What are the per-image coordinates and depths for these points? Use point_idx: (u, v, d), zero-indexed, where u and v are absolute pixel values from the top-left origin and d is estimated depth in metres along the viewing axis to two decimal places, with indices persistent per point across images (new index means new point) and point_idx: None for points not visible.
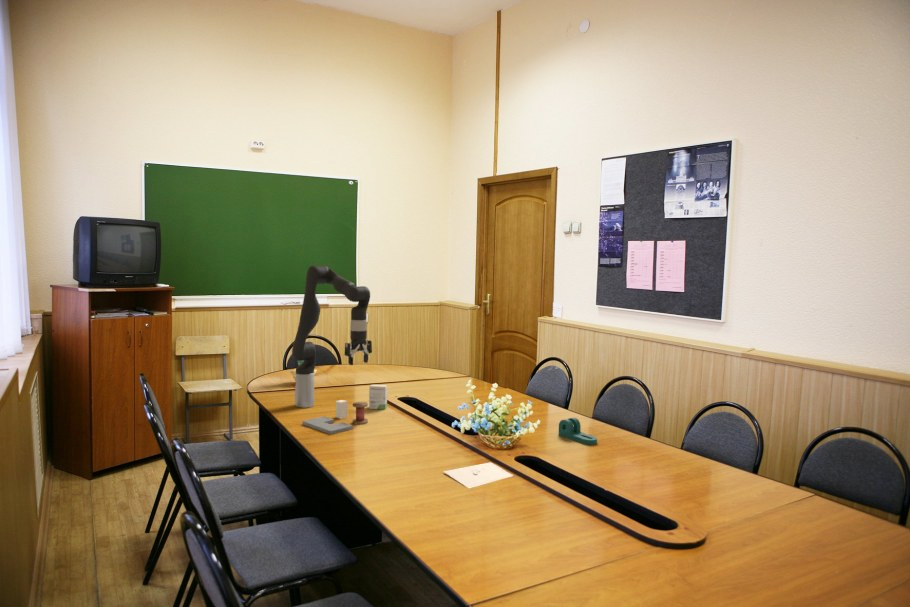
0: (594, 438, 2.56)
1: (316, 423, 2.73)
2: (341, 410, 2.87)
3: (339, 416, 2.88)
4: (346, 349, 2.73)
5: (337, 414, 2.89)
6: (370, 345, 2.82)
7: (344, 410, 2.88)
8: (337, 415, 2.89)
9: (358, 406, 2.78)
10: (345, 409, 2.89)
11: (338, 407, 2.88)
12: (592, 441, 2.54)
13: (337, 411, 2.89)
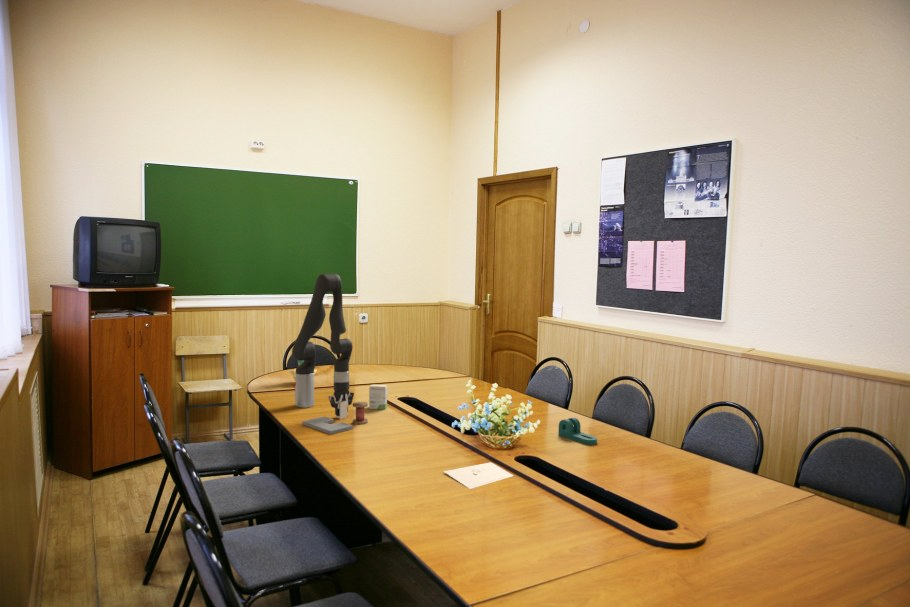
0: (594, 438, 2.56)
1: (316, 423, 2.73)
2: (341, 410, 2.87)
3: (339, 416, 2.88)
4: (331, 402, 2.85)
5: None
6: (351, 397, 2.92)
7: (344, 410, 2.88)
8: None
9: (358, 406, 2.78)
10: (345, 409, 2.89)
11: None
12: (592, 441, 2.54)
13: None
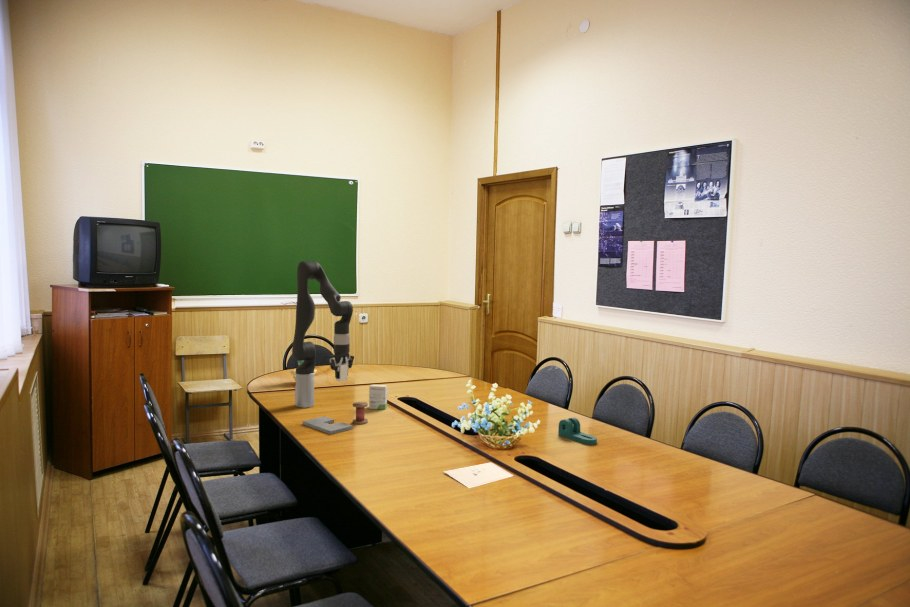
0: (594, 438, 2.56)
1: (316, 423, 2.73)
2: (341, 373, 2.86)
3: (339, 379, 2.86)
4: (331, 365, 2.83)
5: None
6: (352, 360, 2.91)
7: (344, 373, 2.87)
8: None
9: (358, 406, 2.78)
10: (345, 372, 2.87)
11: None
12: (592, 441, 2.54)
13: None
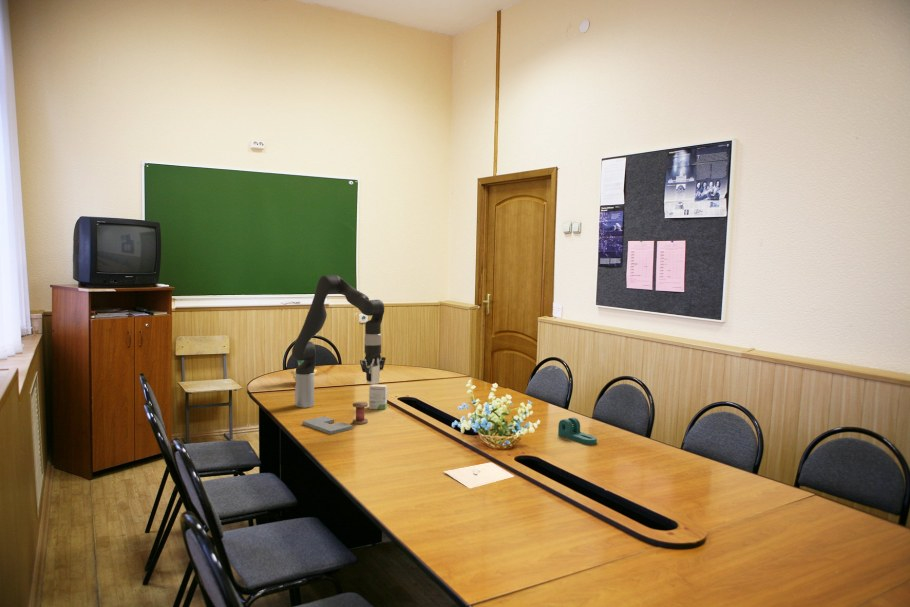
0: (594, 438, 2.56)
1: (316, 423, 2.73)
2: (373, 375, 2.72)
3: (371, 381, 2.72)
4: (362, 366, 2.69)
5: None
6: (383, 362, 2.77)
7: (376, 375, 2.73)
8: None
9: (358, 406, 2.78)
10: (377, 374, 2.73)
11: None
12: (592, 441, 2.54)
13: None
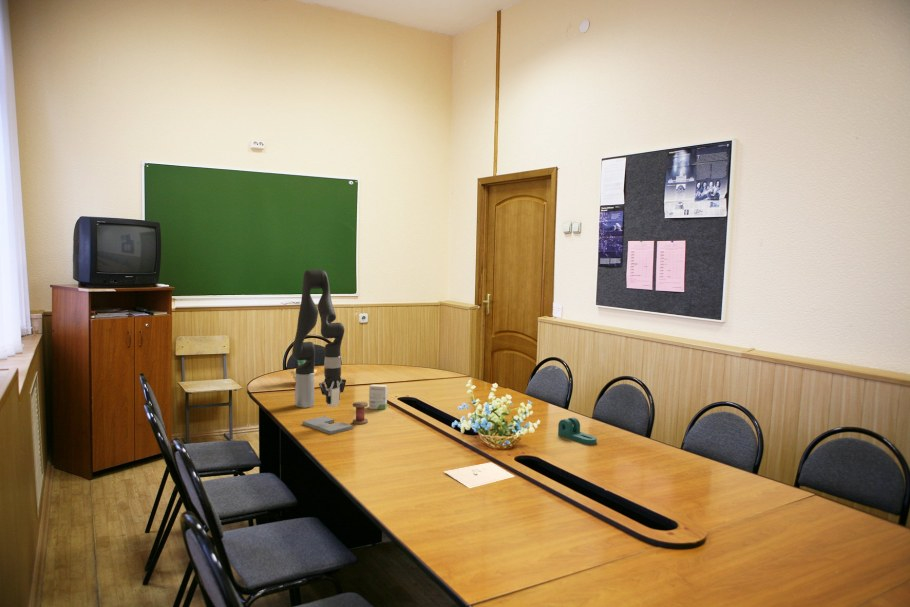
0: (594, 438, 2.56)
1: (316, 423, 2.73)
2: (332, 397, 2.73)
3: (330, 404, 2.73)
4: (322, 389, 2.71)
5: None
6: (343, 384, 2.78)
7: (335, 397, 2.74)
8: None
9: (358, 406, 2.78)
10: (337, 396, 2.74)
11: None
12: (592, 441, 2.54)
13: None
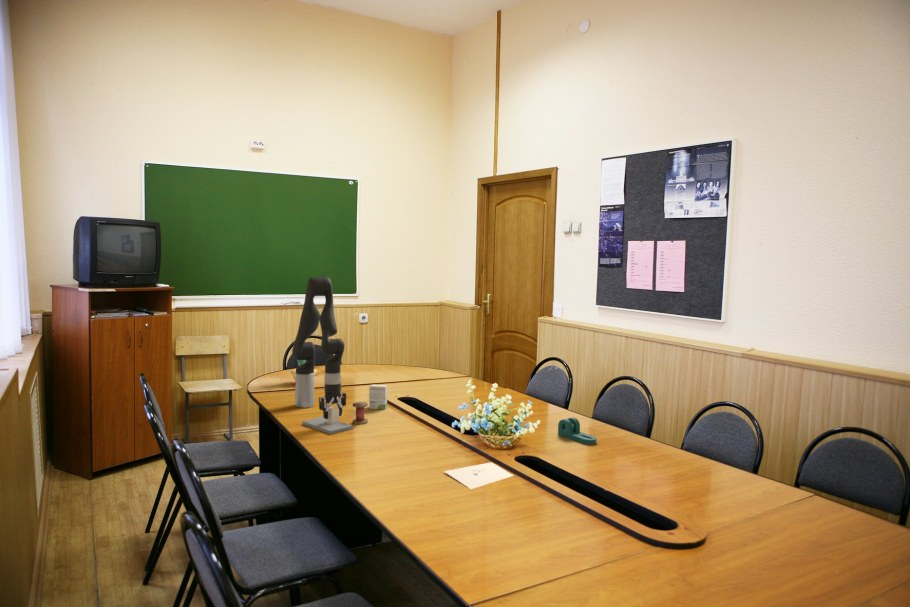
0: (593, 438, 2.57)
1: (316, 423, 2.73)
2: (332, 418, 2.74)
3: None
4: (320, 404, 2.70)
5: (328, 422, 2.75)
6: (344, 398, 2.79)
7: (335, 418, 2.75)
8: (328, 423, 2.75)
9: (358, 406, 2.78)
10: (336, 417, 2.75)
11: (329, 415, 2.75)
12: (591, 441, 2.54)
13: (328, 419, 2.75)
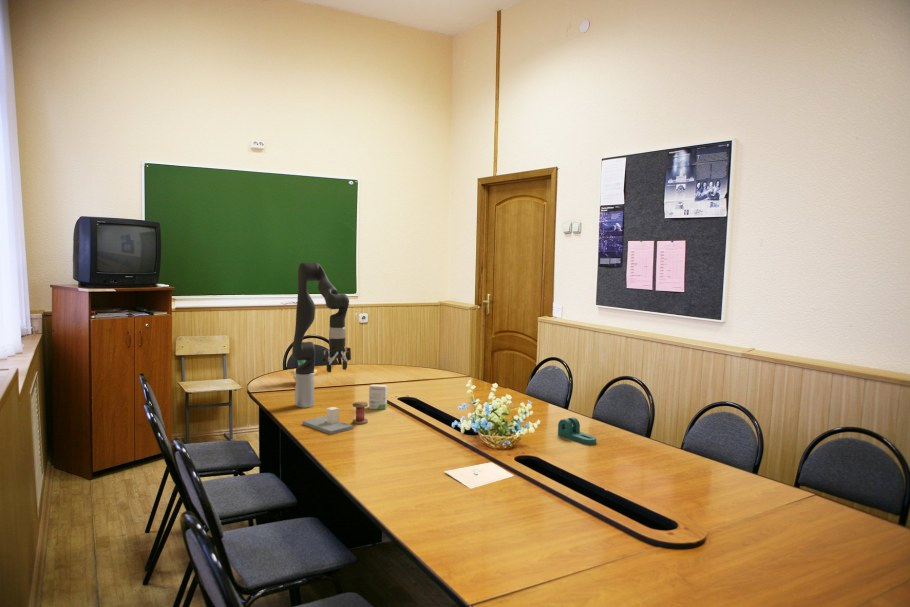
0: (593, 438, 2.57)
1: (316, 423, 2.73)
2: (332, 418, 2.74)
3: None
4: (324, 356, 2.74)
5: (328, 422, 2.75)
6: (349, 352, 2.83)
7: (335, 418, 2.75)
8: (328, 423, 2.75)
9: (358, 406, 2.78)
10: (336, 417, 2.75)
11: (329, 415, 2.75)
12: (591, 441, 2.54)
13: (328, 419, 2.75)
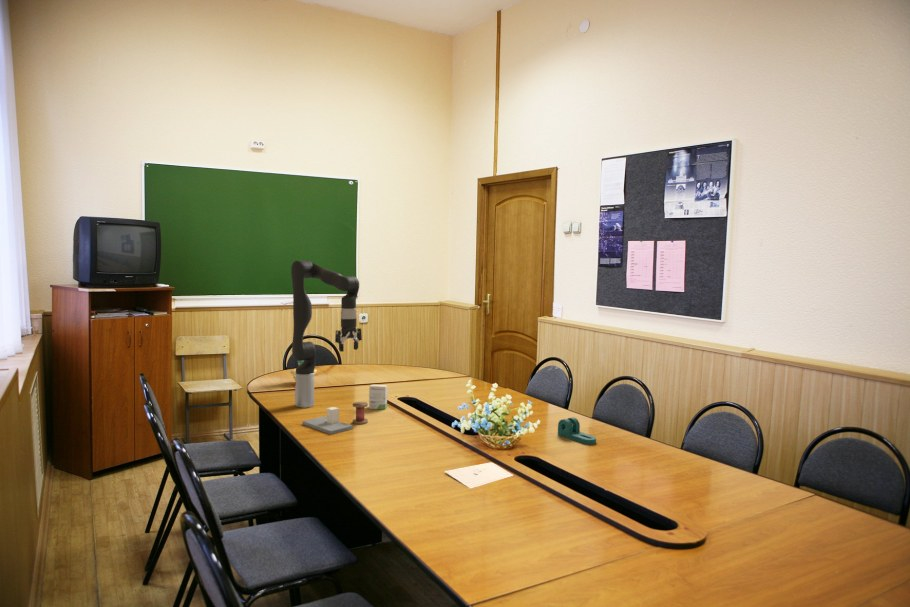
0: (593, 438, 2.57)
1: (316, 423, 2.73)
2: (332, 418, 2.74)
3: None
4: (337, 336, 2.86)
5: (328, 422, 2.75)
6: (360, 333, 2.95)
7: (335, 417, 2.75)
8: (328, 423, 2.75)
9: (358, 406, 2.78)
10: (336, 417, 2.75)
11: (329, 415, 2.75)
12: (591, 441, 2.54)
13: (328, 419, 2.75)
